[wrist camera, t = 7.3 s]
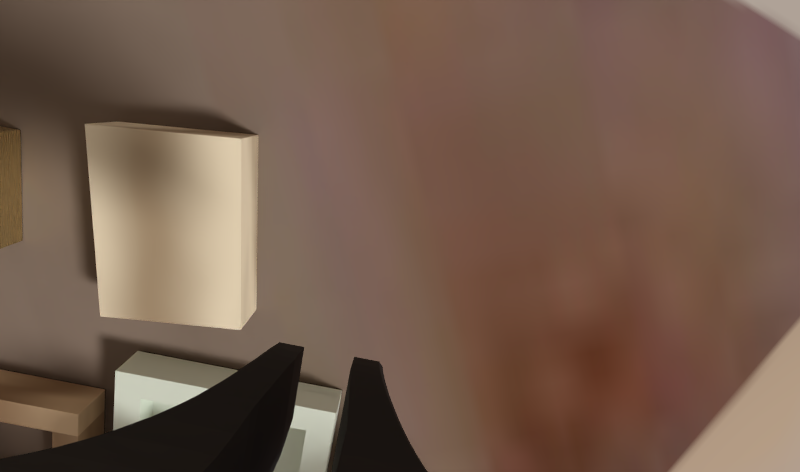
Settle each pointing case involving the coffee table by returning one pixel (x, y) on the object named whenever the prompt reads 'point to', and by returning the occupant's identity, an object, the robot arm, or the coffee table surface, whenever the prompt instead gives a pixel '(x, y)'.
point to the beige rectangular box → (174, 223)
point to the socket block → (52, 406)
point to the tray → (182, 380)
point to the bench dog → (10, 187)
